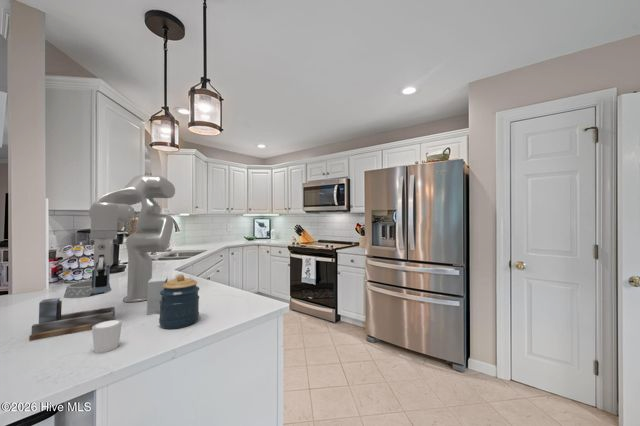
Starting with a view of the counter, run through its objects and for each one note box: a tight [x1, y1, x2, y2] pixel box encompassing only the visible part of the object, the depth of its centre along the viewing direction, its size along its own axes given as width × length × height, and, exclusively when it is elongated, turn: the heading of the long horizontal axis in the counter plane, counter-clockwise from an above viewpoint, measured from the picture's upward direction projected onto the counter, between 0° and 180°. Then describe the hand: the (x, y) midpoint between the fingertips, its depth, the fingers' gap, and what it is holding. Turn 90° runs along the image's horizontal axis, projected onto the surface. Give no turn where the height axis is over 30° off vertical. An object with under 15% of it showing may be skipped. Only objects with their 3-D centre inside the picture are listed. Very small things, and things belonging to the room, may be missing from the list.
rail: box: [28, 297, 116, 342], centre depth 90 cm, size 20×12×10 cm, turn 126°
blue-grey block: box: [91, 265, 111, 294], centre depth 93 cm, size 5×4×9 cm
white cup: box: [91, 319, 123, 354], centre depth 75 cm, size 7×7×7 cm
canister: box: [158, 273, 200, 330], centre depth 94 cm, size 13×13×18 cm
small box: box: [146, 276, 168, 315], centre depth 106 cm, size 8×6×13 cm
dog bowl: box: [63, 279, 112, 299], centre depth 131 cm, size 17×18×5 cm
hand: (101, 284), depth 93 cm, fingers closed on blue-grey block, 4 cm apart
